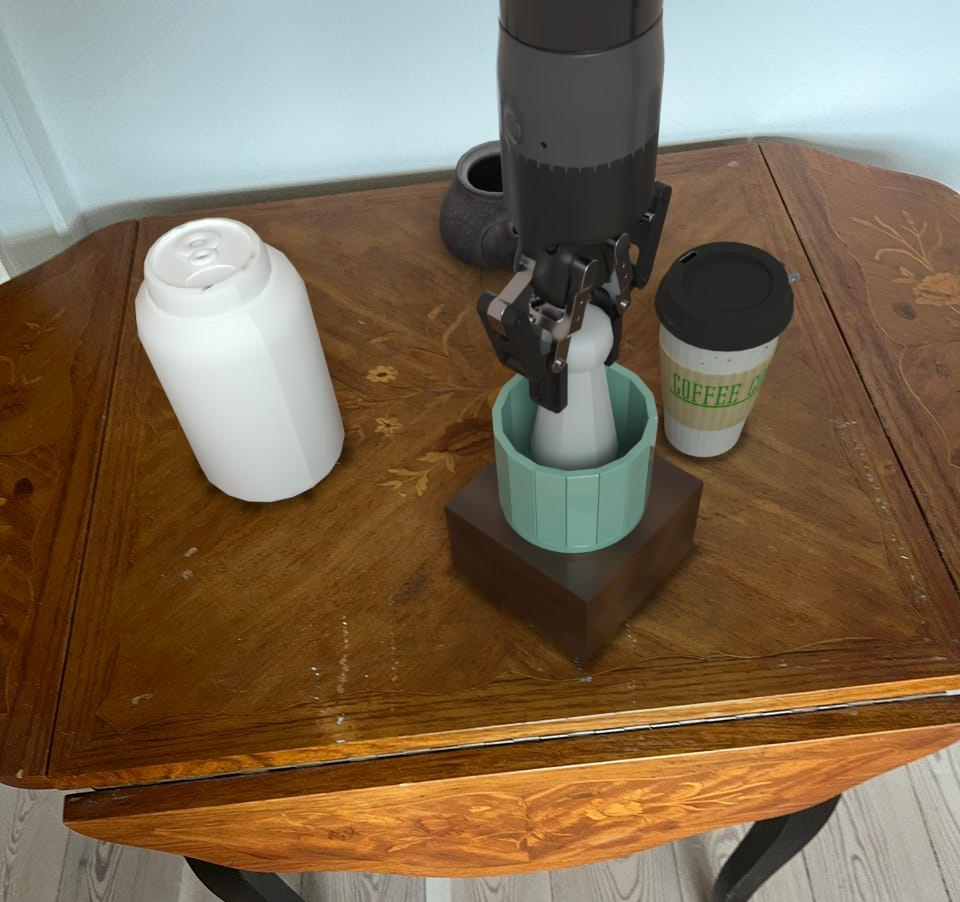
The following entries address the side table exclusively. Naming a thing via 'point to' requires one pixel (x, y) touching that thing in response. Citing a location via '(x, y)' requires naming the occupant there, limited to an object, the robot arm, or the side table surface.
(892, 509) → the side table surface
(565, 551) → the green cup
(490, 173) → the teapot
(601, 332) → the salt shaker
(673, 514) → the block
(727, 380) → the coffee cup
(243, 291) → the can
